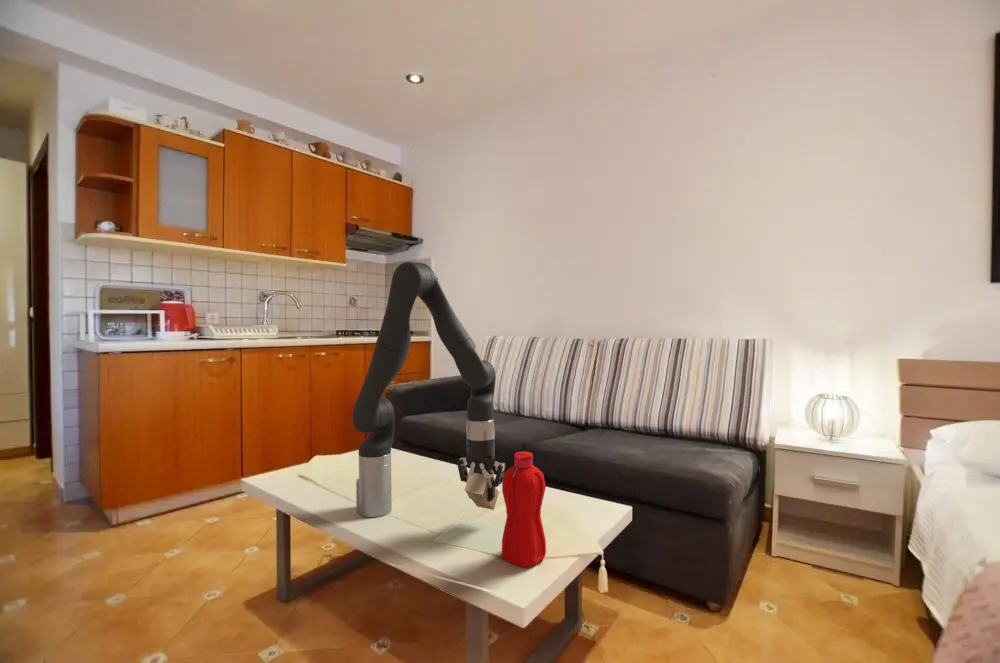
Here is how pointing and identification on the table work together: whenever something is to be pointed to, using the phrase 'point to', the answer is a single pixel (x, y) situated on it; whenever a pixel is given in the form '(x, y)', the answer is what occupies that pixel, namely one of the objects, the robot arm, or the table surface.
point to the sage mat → (473, 535)
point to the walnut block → (480, 491)
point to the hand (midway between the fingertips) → (481, 498)
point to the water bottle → (523, 512)
